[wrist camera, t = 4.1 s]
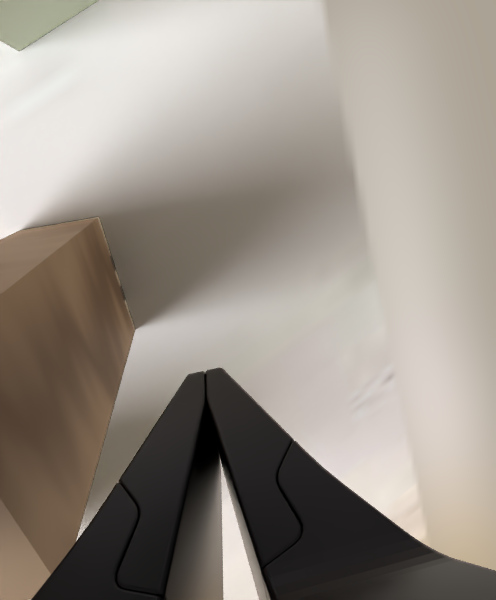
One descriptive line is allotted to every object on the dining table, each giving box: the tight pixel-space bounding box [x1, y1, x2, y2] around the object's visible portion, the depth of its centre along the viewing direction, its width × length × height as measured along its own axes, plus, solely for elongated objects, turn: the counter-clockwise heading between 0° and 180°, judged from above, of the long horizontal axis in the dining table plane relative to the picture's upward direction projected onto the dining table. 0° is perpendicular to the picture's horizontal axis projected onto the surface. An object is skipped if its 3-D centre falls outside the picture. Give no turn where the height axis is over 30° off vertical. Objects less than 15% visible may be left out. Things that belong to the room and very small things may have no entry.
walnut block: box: [0, 217, 135, 600], centre depth 12 cm, size 6×4×12 cm, turn 8°
